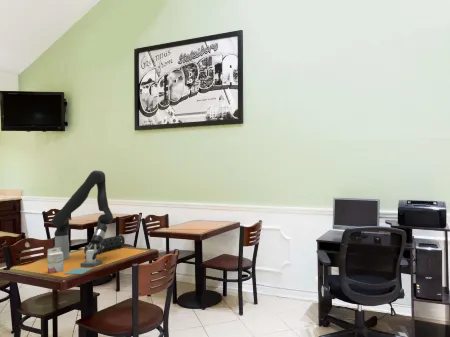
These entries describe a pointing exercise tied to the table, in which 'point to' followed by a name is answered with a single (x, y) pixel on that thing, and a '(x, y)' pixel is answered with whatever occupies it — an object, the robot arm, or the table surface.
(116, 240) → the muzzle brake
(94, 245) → the robot arm
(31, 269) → the table surface
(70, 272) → the mat
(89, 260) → the plug
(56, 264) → the ink cartridge box
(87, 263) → the dock
